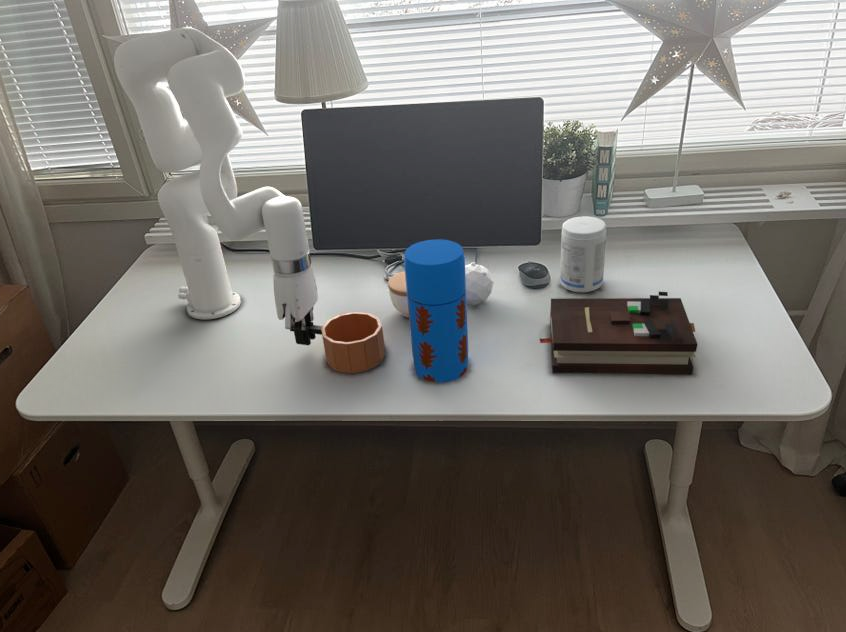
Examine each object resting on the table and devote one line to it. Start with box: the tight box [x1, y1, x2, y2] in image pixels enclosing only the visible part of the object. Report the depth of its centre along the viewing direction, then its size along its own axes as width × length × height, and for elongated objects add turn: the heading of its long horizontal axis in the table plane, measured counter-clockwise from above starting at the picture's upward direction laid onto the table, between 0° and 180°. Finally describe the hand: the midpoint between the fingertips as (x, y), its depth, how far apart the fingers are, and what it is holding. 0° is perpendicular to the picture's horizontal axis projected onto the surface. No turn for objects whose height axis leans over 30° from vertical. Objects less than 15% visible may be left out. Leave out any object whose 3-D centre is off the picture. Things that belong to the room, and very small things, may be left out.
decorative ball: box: [465, 261, 495, 306], centre depth 160 cm, size 9×10×12 cm
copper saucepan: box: [289, 311, 386, 374], centre depth 145 cm, size 20×12×7 cm, turn 71°
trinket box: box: [387, 270, 409, 319], centre depth 157 cm, size 11×11×9 cm
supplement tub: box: [559, 216, 607, 293], centre depth 159 cm, size 10×10×15 cm
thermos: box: [403, 238, 469, 384], centre depth 133 cm, size 11×11×25 cm
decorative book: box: [539, 291, 698, 376], centre depth 138 cm, size 19×8×30 cm
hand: (306, 340), depth 148 cm, fingers closed
